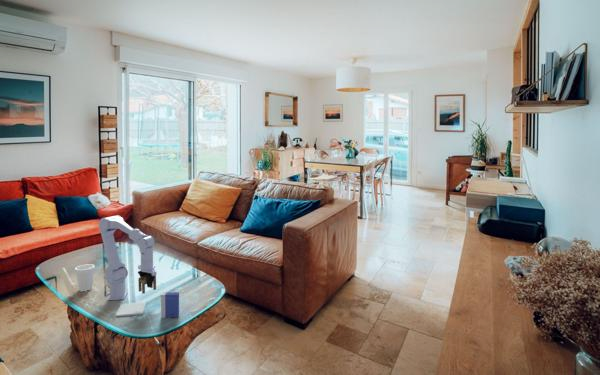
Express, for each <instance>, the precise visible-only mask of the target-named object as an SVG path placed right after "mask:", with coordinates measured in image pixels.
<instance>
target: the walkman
mask: <svg viewBox="0 0 600 375" xmlns="http://www.w3.org/2000/svg"><path fill="white" fill-rule="evenodd" d="M178 315H179V316H180V292H177V291H173V292H171V291H169V292H167V291H166V292H162V293H161V294H160V316H161V318H160V319H165V318H167V319H168V317H178V318H179V316H178Z"/></svg>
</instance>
